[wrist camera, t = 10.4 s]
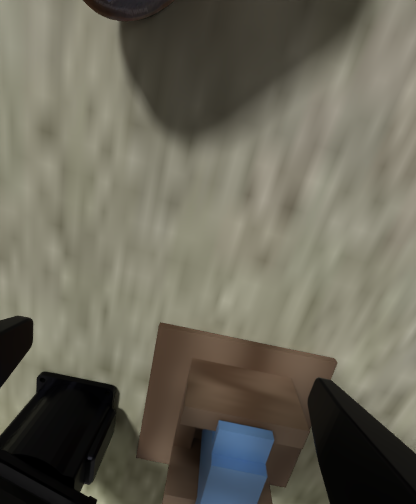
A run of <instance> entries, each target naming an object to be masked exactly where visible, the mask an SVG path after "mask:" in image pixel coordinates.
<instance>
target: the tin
mask: <svg viewBox="0 0 416 504" xmlns="http://www.w3.org/2000/svg"><path fill="white" fill-rule="evenodd" d="M83 1H84V2H85V3H86V4H87V5H88V6H89V7H90V8H91V9H93V10H94V11H95V12H97V13H98V14H100V15H102V16H104V17H106V18H109V19H112V20H117V21H135V20H141V19H144V18H146V17H149V16H151V15H154V14H156V13H157V12H159V11H161V10H163V9H164V8H165V7H167V6H168V5H170V4H171V3H172V2H173V1H174V0H83Z"/></svg>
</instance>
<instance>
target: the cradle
mask: <svg viewBox="0 0 416 504" xmlns="http://www.w3.org/2000/svg"><path fill="white" fill-rule="evenodd" d="M336 365H337V361H336V360H335V359H334V358H329V357H325V356H320V355H315V354H310V353H305V352H300V351H296V350H291V349H286V348H281V347H276V346H272V345H267V344H262V343H257V342H252V341H247V340H243V339H238V338H233V337H228V336H223V335H218V334H214V333H209V332H204V331H199V330H194V329H189V328H185V327H180V326H175V325H170V324H165V323H161V322H160V324H159V328H158V334H157V340H156V346H155V351H154V357H153V363H152V369H151V374H150V380H149V386H148V392H147V398H146V403H145V409H144V415H143V421H142V427H141V432H140V438H139V444H138V450H137V455H136V458H140V459H145V460H150V461H155V462H160V463H165V464H169V467H168V473H167V479H166V484H165V490H164V495H163V501H162V504H195V503H196V499H197V492H198V479H199V465H200V451H201V438H202V430H203V429H207V430H212V431H216V428H217V425H218V421H219V420H221V421H226V422H230V423H235V424H240V425H245V426H250V427H255V428H260V429H265V430H270V431H272V432H273V437H274V443H273V445H272V448H271V451H270V453H269V456H268V459H267V461H266V464H265V465H266V471H267V479H266V482H265V484H264V487H263V489H262V492H261V495H260V497H259V500H258V503H257V504H272V498H271V491H270V485H275V486H280V487H285V488H286V486H287V483H288V481H289V478H290V476H291V474H292V471H293V469H294V466H295V464H296V461H297V459H298V457H299V454H300V452H301V449H303V447H304V444H305V442H306V439H307V437H308V435H309V432H310V431H309V430H310V428H311V421H310V416H309V411H308V404H307V401H308V396H309V394H310V391H311V389H312V386H313V383H314V381H315V379H316V378H318V377H320V378H325V379H329V380H331V377H332V375H333V373H334V370H335V368H336ZM269 484H270V485H269Z"/></svg>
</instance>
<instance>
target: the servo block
mask: <svg viewBox="0 0 416 504" xmlns="http://www.w3.org/2000/svg"><path fill="white" fill-rule="evenodd" d="M273 443H274V437H273V432H272V431H270V430H265V429H260V428H255V427H250V426H245V425H240V424H235V423H230V422H226V421H221V420H219V421H218V425H217V428H216V431H212V430H207V429H203V430H202V438H201V451H200V465H199V479H198V492H197V499H196V503H195V504H257V503H258V500H259V497H260V495H261V492H262V489H263V487H264V484H265V482H266V479H267V471H266V465H265V464H266V461H267V459H268V456H269V453H270V451H271V448H272V445H273Z"/></svg>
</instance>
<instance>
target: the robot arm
mask: <svg viewBox="0 0 416 504" xmlns="http://www.w3.org/2000/svg"><path fill="white" fill-rule="evenodd" d="M32 343H33V320H32V319H31V318H28V317H23V316H14V317H11V318H7V319H4V320H0V388H1V386H2V385H3V384H4V382H5V381H6V380H7V378H8V377H9V376H10V375H11V373H12V372H13V371H14V369H15V368H16V367H17V365H18V364H19V363H20V361H21V360H22V359H23V357H24V356H25V355H26V353H27V352H28V351H29V349H30V348H31V346H32ZM108 391H109V392H108ZM114 397H115V388H114V387H113V386H112V385H108V384H103V383H98V382H94V381H89V380H84V379H79V378H74V377H69V376H64V375H59V374H54V373H49V372H42V373H41V374H40V375H39V376H38V377H37V389H36V394H35V395H34V396H33V398H32V399H31V400H30V401H29V402H28V403H27V405H26V406H25V407H24V408H23V409H22V411H21V412H20V413H19V414H18V415H17V416H16V418H15V419H14V420H13V421H12V422H11V423H10V425H9V426H8V427H7V428H6V429H5V430H4V432H3V433H2V434H1V435H0V504H96V502H97V499H95V498H93V497H91V496H89V497H88V496H86V495H84V494H82V493H80V491H81V489H82V487H83V485H84V484H88V485H89V484H90V483H92V482H93V480H94V478H95V476H96V473H97V471H98V468H99V466H100V464H101V461H102V459H103V457H104V454H105V452H106V449H107V447H108V445H109V442H110V440H111V437H112V435H113V432H114V424H115V417H116V411H115V409H113V405H114ZM307 404H308V411H309V416H310V421H311V427H312V432H313V437H314V443H315V448H316V453H317V458H318V462H319V466H320V470H321V473H322V477H323V480H324V484H325V487H326V491H327V494H328V498H329V501H330V504H416V453H414V452H413V451H412V450H411V449H410V448H409V447H407V446H406V445H405V444H404V443H403V442H402V441H401V440H399V439H398V438H397V437H396V436H395V435H394V434H393V433H391V432H390V431H389V430H388V429H387V428H386V427H384V426H383V425H382V424H381V423H380V422H379V421H378V420H376V419H375V418H374V417H373V416H372V415H371V414H369V413H368V412H367V411H366V410H365V409H364V408H363V407H361V406H360V405H359V404H358V403H357V402H356V401H355V400H353V399H352V398H351V397H350V396H349V395H348V394H346V393H345V392H344V391H343V390H342V389H341V388H340V387H338V386H337V385H336V384H335V383H334V382H333V381H331V380H329V379H325V378H320V377H318V378H316V379H315V381H314V383H313V386H312V389H311V391H310V394H309V396H308V401H307Z"/></svg>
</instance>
